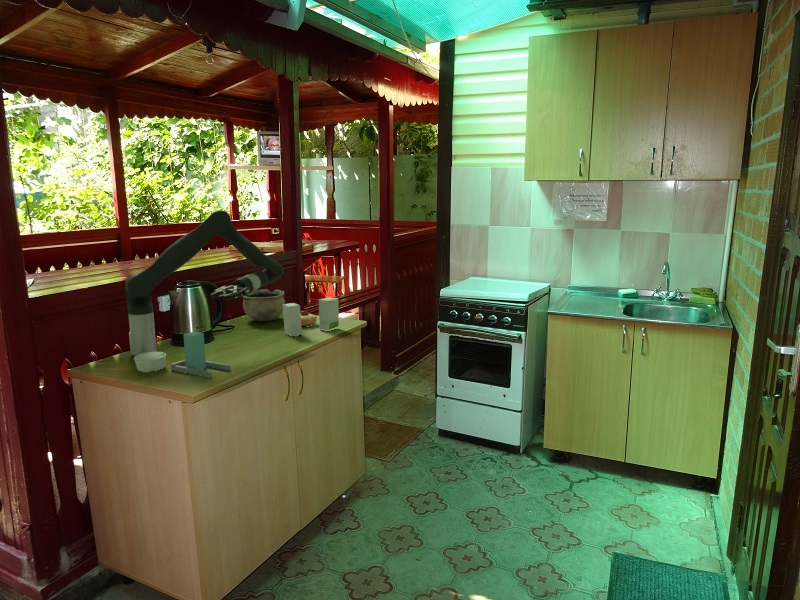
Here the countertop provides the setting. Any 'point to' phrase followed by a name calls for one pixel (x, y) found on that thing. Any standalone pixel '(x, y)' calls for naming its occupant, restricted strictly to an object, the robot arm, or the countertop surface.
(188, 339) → the teal block
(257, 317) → the ceramic bowl
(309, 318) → the pastry
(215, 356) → the countertop surface
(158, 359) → the ramekin
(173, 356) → the countertop surface
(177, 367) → the grey rectangular frame
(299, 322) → the skincare box
